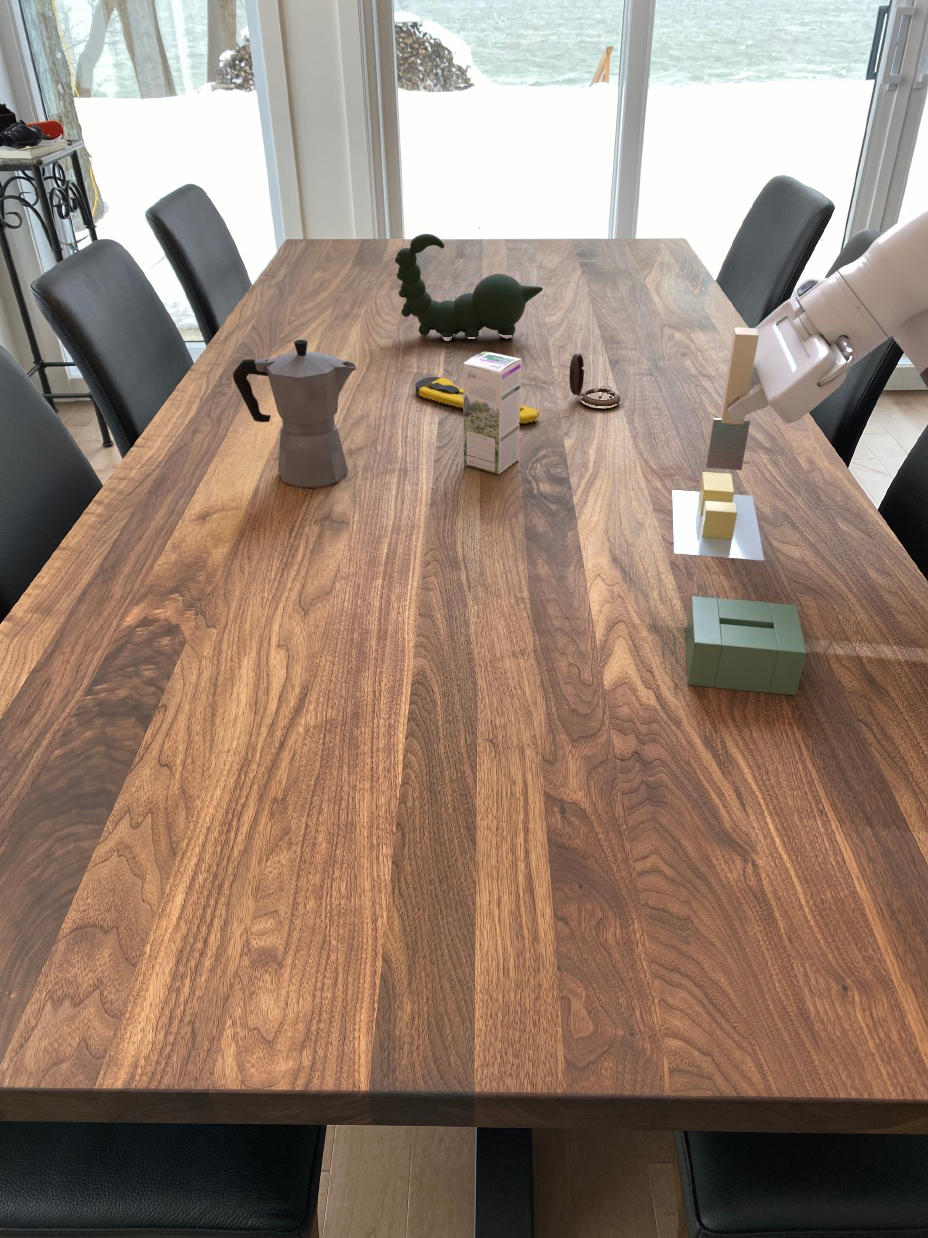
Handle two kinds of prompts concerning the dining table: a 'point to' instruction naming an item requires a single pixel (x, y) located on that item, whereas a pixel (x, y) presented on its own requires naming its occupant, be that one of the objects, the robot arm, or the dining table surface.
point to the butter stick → (715, 488)
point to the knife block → (744, 645)
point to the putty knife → (726, 431)
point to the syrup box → (491, 411)
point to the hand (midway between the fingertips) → (728, 407)
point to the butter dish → (693, 543)
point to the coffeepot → (302, 412)
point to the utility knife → (458, 396)
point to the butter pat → (718, 520)
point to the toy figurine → (460, 299)
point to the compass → (576, 387)
